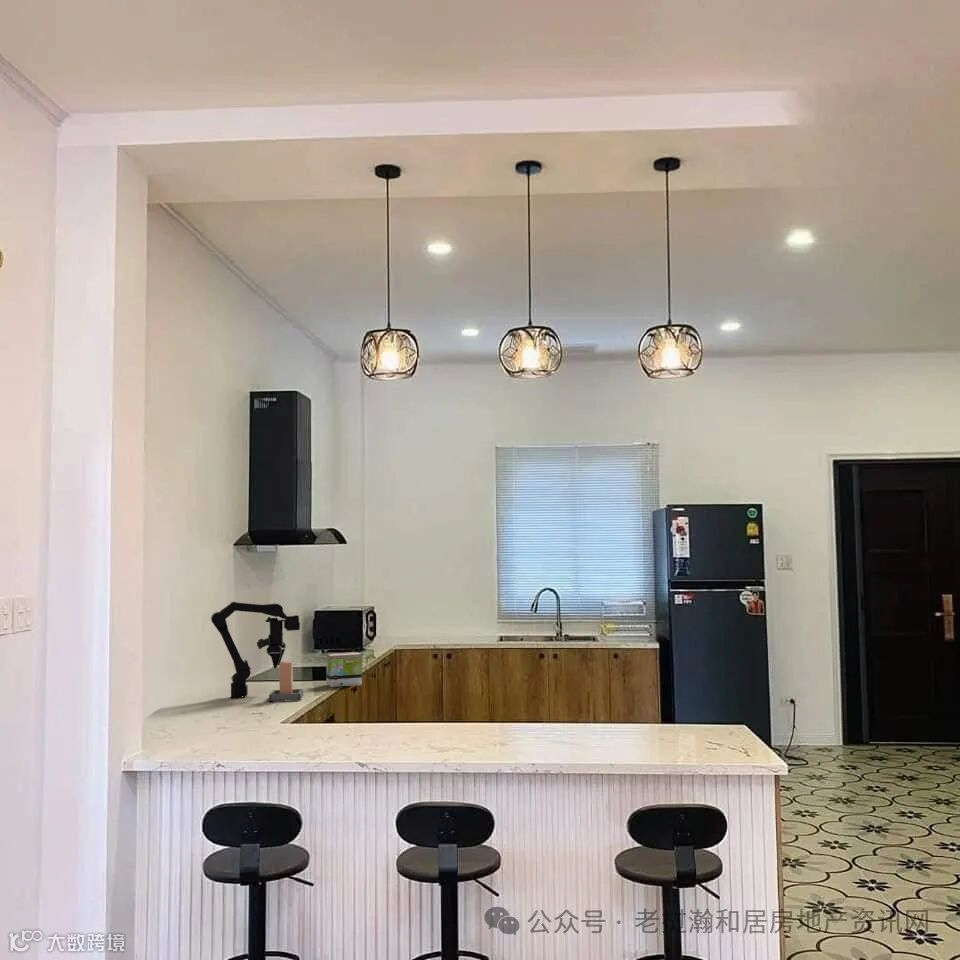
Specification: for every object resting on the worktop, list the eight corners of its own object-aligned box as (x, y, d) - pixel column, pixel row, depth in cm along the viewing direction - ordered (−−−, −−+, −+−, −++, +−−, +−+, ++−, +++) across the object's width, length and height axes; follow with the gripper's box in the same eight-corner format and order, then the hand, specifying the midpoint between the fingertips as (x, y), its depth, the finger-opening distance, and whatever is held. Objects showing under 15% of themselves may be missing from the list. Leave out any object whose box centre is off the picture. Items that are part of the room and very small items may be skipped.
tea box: (330, 688, 408) (330, 655, 409) (326, 685, 417) (325, 653, 418) (362, 685, 414) (361, 653, 415) (357, 682, 423) (356, 651, 424)
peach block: (279, 698, 377) (279, 663, 378) (281, 696, 383) (280, 661, 384) (291, 698, 378) (291, 662, 379) (293, 696, 384) (292, 661, 385)
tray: (269, 702, 373) (269, 694, 373) (273, 697, 386) (273, 690, 386) (300, 700, 375) (300, 693, 375) (303, 695, 387) (303, 688, 388)
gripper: (261, 630, 405) (261, 664, 404) (254, 634, 387) (255, 670, 385) (285, 629, 406) (286, 663, 405) (280, 633, 388) (281, 669, 387)
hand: (276, 666), depth 396 cm, fingers open, 9 cm apart
